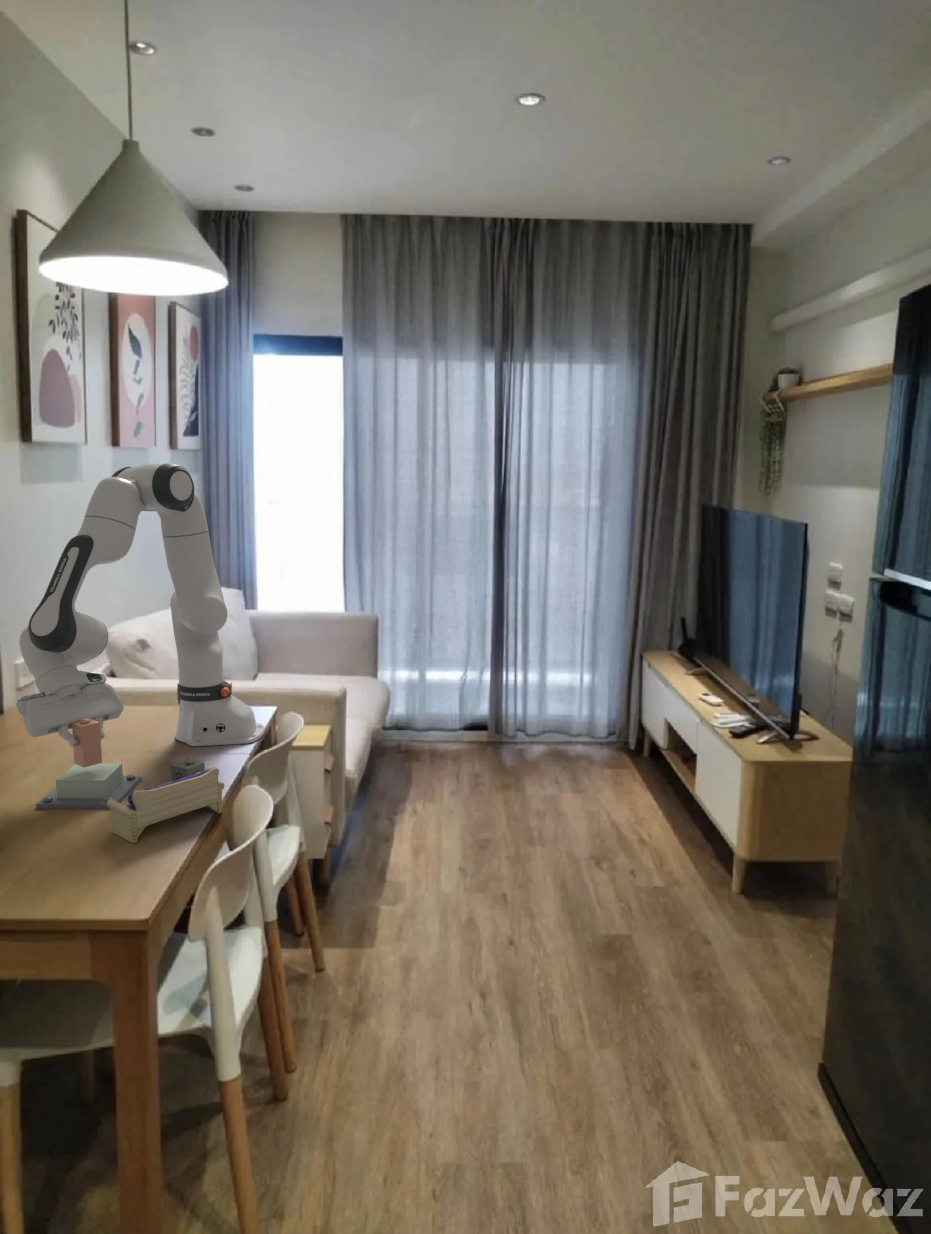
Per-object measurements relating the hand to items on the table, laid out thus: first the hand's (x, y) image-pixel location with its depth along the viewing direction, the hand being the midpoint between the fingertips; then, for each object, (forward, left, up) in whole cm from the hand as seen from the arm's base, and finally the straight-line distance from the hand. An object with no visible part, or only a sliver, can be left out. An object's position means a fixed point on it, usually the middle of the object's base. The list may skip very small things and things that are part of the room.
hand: (88, 741), depth 182 cm
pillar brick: (+1, 0, -5) cm, 5 cm away
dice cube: (-19, -6, -12) cm, 23 cm away
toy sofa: (-21, +14, -12) cm, 28 cm away
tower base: (0, 0, -12) cm, 12 cm away
